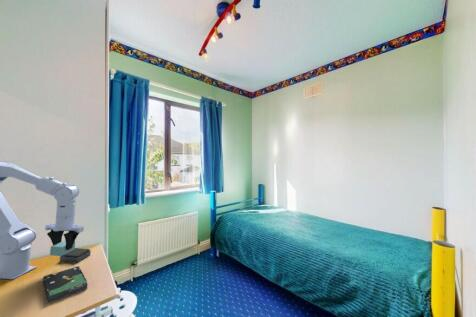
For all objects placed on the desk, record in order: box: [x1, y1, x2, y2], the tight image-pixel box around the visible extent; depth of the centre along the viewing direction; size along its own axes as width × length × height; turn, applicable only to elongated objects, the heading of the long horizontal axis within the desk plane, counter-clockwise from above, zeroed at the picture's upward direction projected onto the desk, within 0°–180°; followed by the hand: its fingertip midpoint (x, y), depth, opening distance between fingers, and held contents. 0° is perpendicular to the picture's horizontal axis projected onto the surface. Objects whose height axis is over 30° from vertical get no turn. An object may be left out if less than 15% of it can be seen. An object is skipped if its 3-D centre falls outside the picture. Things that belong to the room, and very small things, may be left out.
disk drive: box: [42, 265, 88, 304], centre depth 69 cm, size 10×3×15 cm
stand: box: [59, 247, 92, 264], centre depth 87 cm, size 8×7×3 cm
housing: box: [49, 240, 76, 257], centre depth 78 cm, size 4×6×3 cm
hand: (63, 248), depth 78 cm, fingers closed on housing, 4 cm apart
